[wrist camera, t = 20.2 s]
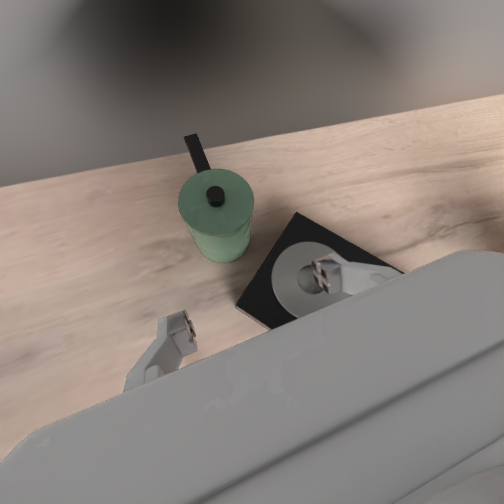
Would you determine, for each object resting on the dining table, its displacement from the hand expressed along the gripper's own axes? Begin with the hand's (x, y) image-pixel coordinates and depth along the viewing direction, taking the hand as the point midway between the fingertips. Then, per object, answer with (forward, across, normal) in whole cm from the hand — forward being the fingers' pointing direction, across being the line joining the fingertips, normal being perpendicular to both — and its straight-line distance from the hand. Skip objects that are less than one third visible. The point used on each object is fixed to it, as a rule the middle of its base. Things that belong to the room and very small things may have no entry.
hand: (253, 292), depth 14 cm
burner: (+5, -6, +5) cm, 9 cm away
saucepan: (+14, 0, 0) cm, 14 cm away
